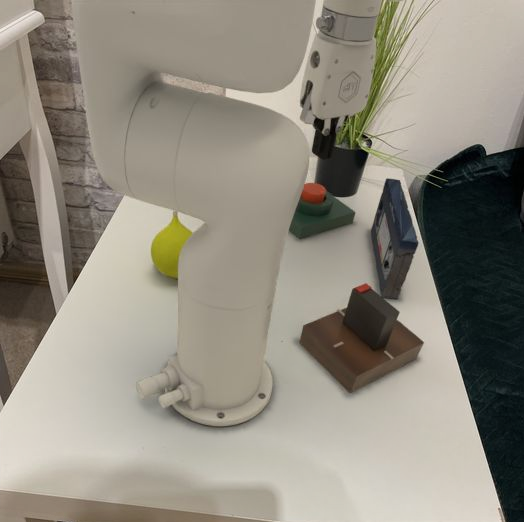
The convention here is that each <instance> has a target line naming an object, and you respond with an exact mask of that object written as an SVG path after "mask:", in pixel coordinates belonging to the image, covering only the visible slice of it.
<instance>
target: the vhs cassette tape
mask: <svg viewBox="0 0 524 522" xmlns="http://www.w3.org/2000/svg"><path fill="white" fill-rule="evenodd" d="M375 211H376V212H375V215H374V219H373V222H372V225H371V229H370V236H371V242H372V250H373V256H374V261H375V267H376V272H377V278H378V284H379V289H380V296H381V297H382V298H388V299H395V300H398V299H399V297H400V294H401V291H402V288H403V286H404V284H405V282H406V278H407V275H408V273H409V271H410V268H411V265H412V263H413V259H414V255H415V254H416V252H417V249H418V247H419V240H418V235H417V232H416V228H415V225H414V223H413V217H412V215H411V212H410V210H409V206H408V202H407V199H406V195H405V192H404V190H403V187H402V183H401V179H395V178H386V179H385V181H384V184H383V188H382V192H381V195H380V199H379V201H378V204H377V208H376V210H375Z"/></svg>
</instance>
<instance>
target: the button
mask: <svg viewBox="0 0 524 522" xmlns="http://www.w3.org/2000/svg"><path fill="white" fill-rule="evenodd" d="M326 191H327V189H326V187H325V186H323V185H322V184H320V183H316V182H305V184H304V187H303V190H302V193H301V198H302V199H303V200H305V201H308V202H311V203H321V202H323V201H324V198H325V193H326Z"/></svg>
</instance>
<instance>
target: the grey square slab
mask: <svg viewBox="0 0 524 522" xmlns="http://www.w3.org/2000/svg"><path fill="white" fill-rule="evenodd" d="M347 302H348V303H347V306H346V308H347V309H346V312H345V315H344V319H343V323H344V324H345V325H347V326H348V327H349V328H350V329H351V330H352V331H353V332H354V333H355V334H356V335H357V336H358V337H360V338H361V339H362V340H363V341H364V342H365V343H366V344H367V345H368V346H369V347H370V348H371V349H373V350H374V351H375V350H377V349H379V348H382V347H384V346H386V345H387V343H388V340H389V338H390V335H391V333H392V330H393V328H394V325H395V323H396V320H398V317H399V315H400V313H401V312H400V311H399V310H398V308H396V307H395V306H393V305H392V304H391V303H390V302H388V301H387V300H386V299H385V297H382V296H381V294H379V293H378V292H376V291H375V290H374V289H373V288H372V286H371V285H369V284H368V283H367V282H366V283H363V284H360V285H358V286H355V287H353V288H352V289H351V293H350V295H349V299H348V301H347Z"/></svg>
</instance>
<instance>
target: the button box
mask: <svg viewBox="0 0 524 522" xmlns="http://www.w3.org/2000/svg"><path fill="white" fill-rule="evenodd" d="M355 217H356V211H355V210H353V208H350V207H349V206H348V205H347V204H345V203H344V202H342V201H341V200H339V198H337V197H336V196H334V195H332V194H331V193H330V192H329V191H328V190H326V193H325V198H324V201H323V202H321V203H311V202H308V201H305V200H303V199H302V198H301V196H300V199H299V202H298V204H297V207H296V210H295V213H294V216H293V219H292V221H291V224H290V227H289V231H288V232H290V233H291V234H292V235H293V236H295V238H297V239H298V240H302V239H306V238H309V237H312V236H315V235H319V234H322V233H325V232H329V231H331V230H335V229H338V228H341V227H344V226H348V225H351V224H353V223H354V219H355Z"/></svg>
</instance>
